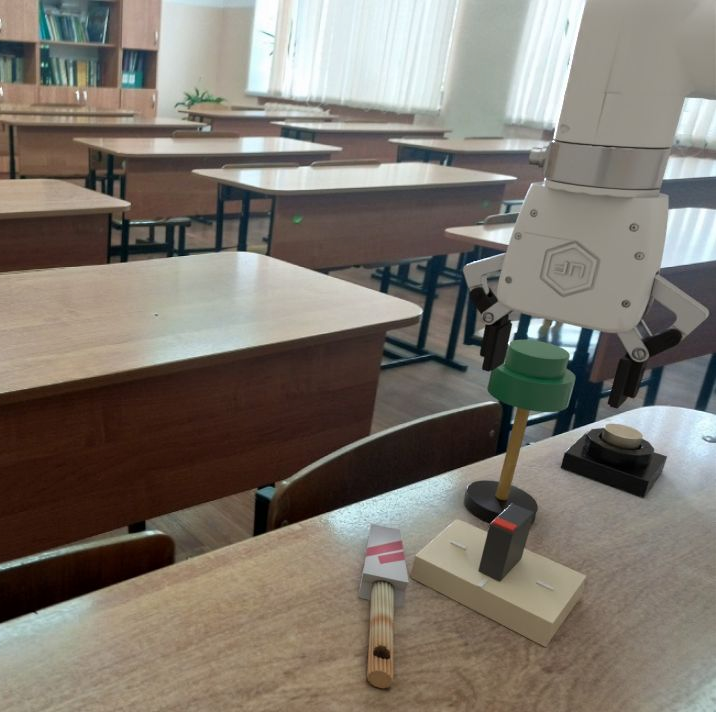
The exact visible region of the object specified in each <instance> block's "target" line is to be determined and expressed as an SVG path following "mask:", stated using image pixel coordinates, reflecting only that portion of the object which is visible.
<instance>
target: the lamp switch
mask: <svg viewBox="0 0 716 712" xmlns="http://www.w3.org/2000/svg"><path fill="white" fill-rule="evenodd" d="M603 429H604V427H597V428H591V429H590V430H586V431H585V432H584V433H583V434H582V435H580V437H579V438H578V439H577V440H576V441H575V442H574V443H573V444H572V445H570V446H569V448H568V449H567V450H565V452H564V453H563V457H562V461H561V464H560V469H563V470H566V471H568V472H570V473H574V474H576V475H579V476H582V477H584V478H587V479H590V480H593V481H596V482H598V483H601V484H604V485H606V486H609V487H612V488H615V489H618V490H620V491H623V492H625V493H629V494H632V495H634V496H637V497H640V498H643V499H644V498H645V497H646V495H647V494H648V493H649V491H650V490H651V488H652V487H653V485H654V484H655V483H656V481H657V480H658V479H659V477H660V476H661V474H662V473H663V471H664V467H665V465H666V463H667V460H668V456H667V455H664V454H661V453H658V452H655V447H653V446H652V444H651V442H649V441H648V440H646V439H644V438H642V440H641V443H640V446H639V449H638V450H625V449H620V448H617V447H614V446H610V445H608V444H607V443H605V442H603V441H601V436H602V433H603Z"/></svg>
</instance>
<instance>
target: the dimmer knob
mask: <svg viewBox="0 0 716 712" xmlns="http://www.w3.org/2000/svg"><path fill="white" fill-rule="evenodd" d="M533 514H534V512H532V511H529V510H527V509H524V508H522V507H519V506H517V505H514V504H511V505H510V506H508V507H507V508H506V509H505V510H504V511H503V512H502V513H501V514H500V515H499V516H498V517H497V518H496V519H495V520H494V521H492V522H491V523H489V527H488V529H487V532H488V533H487V537H486V541H485V545H484V549H483V553H482V557H481V562H480V566H479V570H478V571H479V572H481V573H483V574H485V575H487V576H489V577H491V578H494V579H496V580H498V581H501V580H502V579H503V578H504V577H505V576H506V575H507V574H508V573H509V572H510V571H511V569H512V568H513V567H514V566H515V565H516V564H517V563H518V562H519V561H520V560H521V558H522V555H523V551H524V549H526V548H525V547H526V544H527V540H528V536H529V532H530V529H531V526H532V524H531V522H532V518H533Z"/></svg>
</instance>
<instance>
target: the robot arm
mask: <svg viewBox="0 0 716 712" xmlns="http://www.w3.org/2000/svg"><path fill="white" fill-rule="evenodd" d="M567 69H568V70H567V74H566V79H565V84H564V88H563V93H562V96H561V101H560V107H559V112H558V115H557V121H556V124H555V130H554V134H553V139H552V140H549V143H548V144H547V146H546V145H544V146H543V147H538V146H537V147H536V146H534V147H533V148H532V149H531V151H530V153H529V156H528V164H529V165H530V166H538V168H540V169H542V177H544V179H543V181H536V182H531V184H530V186H529V188H528V190H527V192H526V195H525V197H524V200H523V201H522V204H521V207H520V209H519V213H518V215H517V217H516V221H515V223H514V226H513V230H512V233H511V236H510V239H509V243H508V246H507V249H506V252H504V253H500V254H497V255H493V256H490V257H487V258H483V259H480V260H477V261H473V262H470V263H467V264H465V265H464V266H463V268H462V272H463V276H464V279H465V282H466V283H465V284H466V285H467V288H468V289H469V299H470V300H471V302H472V304H473V305H474V306H475V308H476V310H477V311H478V312H479V314H480V319H481V321H482V323H483V324H485V325H484V330H483V334H482V335H483V336H482V340H481V345H480V350H479V356H480V357H482V358H483V361H482V366H481V370H482V371H483V372H484V371H486V372H487V373H489V372H491V371H492V370H494V369H496V368H497V367H499V366H500V365H502V364H503V363H504V361H505V356H506V352H507V348H508V344H509V342H510V338H511V332H512V328H513V322H512V319H509V317H510V314H512V313H513V312H514V313H515V312H516V313H519V314H523V315H526V316H532V317H536V318H540V319H544V320H548V321H553V322H557V323H561V324H566V325H569V326H574V327H579V328H583V329H587V330H592V331H598V332H602V333H607V334H608V333H609V334H616V335H617V337H618V338H619V340H620V341H621V343H622V345H623V346H624V348H625V350H626V353H625V354H624V355H623V356H622V357H620V359H619V361H618V363H617V367H616V370H615V375H614V378H613V382H612V385H611V389H610V392H609V395H608V396H609V397H608V399H607V402H606V403H607V405H609V407H610V408H613V409H617V410H618V409H619V408H620V407H621V406H622V405H623V404H624V403H625V402H626V401H627V399H628V398H630V399H635V398H636V397H637V396H638V394H639V391H640V389H641V385H642V381H643V379H644V375H645V371H646V368H647V364H648V361H649V359H650V358H652V357H654V356H656V355H659V354H661V353H663V352H666V351H668V350H669V349H672V348H674V347H676V346H677V345H679V344H680V343H681V342H682V341H683V340H684V339H685V338H686V337H688V336H689V335H690V334H691V333H692V332H693V331H695V330H696V328H698V327H699V326H700V325H701V324H702V323H703V322H704V321H705V320H706V319H708V317H709V316H710V311H709V309H708V308H707V307H706V306H704V304H702V303H700V302H699V301H697V300H696V299H694V298H693V297H691V296H690V295H689V294H687V293H686V292H684V291H683V290H681V288H679V287H678V286H676V285H675V284H673V283H672V282H670V281H669V280H667V279H666V278H664V277H663V276H662V275H660V272H661V266H662V262H663V258H664V250H665V244H666V239H667V229H668V220H669V208H670V207H669V205H670V203H669V201H670V200H669V197H670V196H669V195H668V194H665V193H662V192H661V187H662V184H663V181H664V177H665V173H666V169H667V166H668V162H669V158H670V155H671V151H672V147H673V144H674V140H675V137H676V132H677V129H678V126H679V122H680V118H681V115H682V111H683V108H684V104H685V99H704V100H708V101H709V100H710V101H716V0H584V2H583V4H582V7H581V10H580V13H579V17H578V22H577V27H576V31H575V37H574V41H573V45H572V51H571V55H570V60H569V64H568V68H567ZM499 271H500V274H499V278H498V282H497V287H496V288H497V289H496V295H495V293H494V292H493V290H492V288H491V287H490V286H489V285H488V279H487V276H488V274H491V273H495V272H499ZM654 300H656V301H657V302H658V303H659V304H661V305H662V306H664V307H665V308H666V309H668V310H669V311H670V312H672V313H673V314H674V315H675V317H676V319H675V321H674V322H673V323H672V324H671V325H670V326H669V327H666V328H665V329H663V330H660V331H659V332H656V333H655V334H652V331H651V330H650V328H649V327H648V325H647V324H646V322H645V319H646V318H647V316H648V315H649V313H650V311H651V308H652V306H653V302H654Z"/></svg>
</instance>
